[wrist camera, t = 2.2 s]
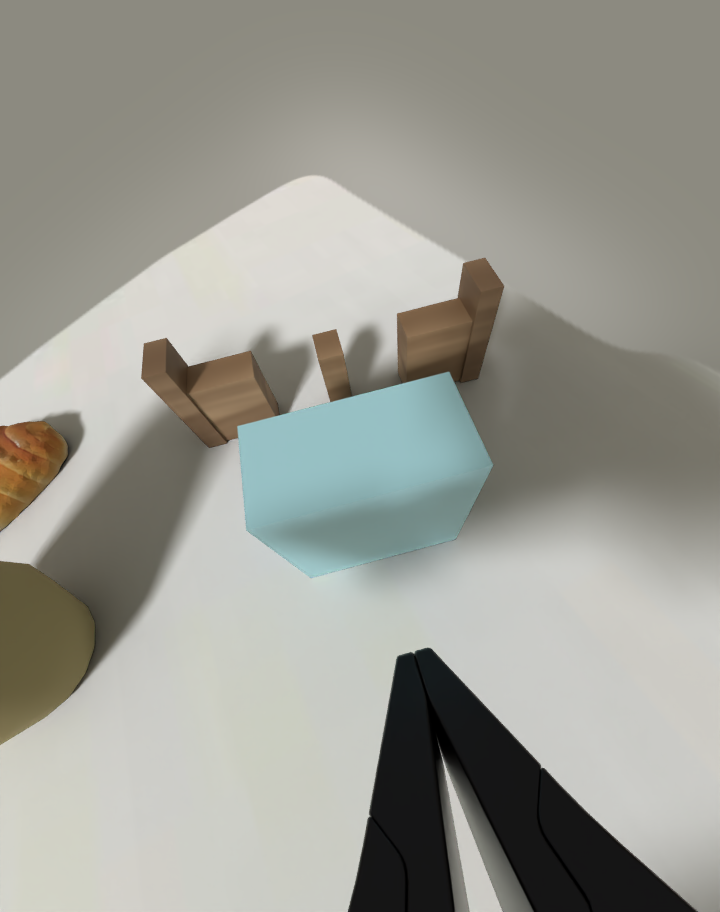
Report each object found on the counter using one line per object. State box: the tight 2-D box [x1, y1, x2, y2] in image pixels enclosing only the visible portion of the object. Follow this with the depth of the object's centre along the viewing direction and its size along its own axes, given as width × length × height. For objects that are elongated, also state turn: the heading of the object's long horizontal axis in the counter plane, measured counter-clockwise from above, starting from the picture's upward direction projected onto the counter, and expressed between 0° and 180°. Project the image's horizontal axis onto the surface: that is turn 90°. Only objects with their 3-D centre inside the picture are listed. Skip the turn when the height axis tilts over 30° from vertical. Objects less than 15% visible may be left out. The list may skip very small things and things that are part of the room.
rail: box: [141, 258, 504, 448], centre depth 21 cm, size 2×18×7 cm, turn 104°
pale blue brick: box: [237, 372, 493, 578], centre depth 17 cm, size 8×8×9 cm
